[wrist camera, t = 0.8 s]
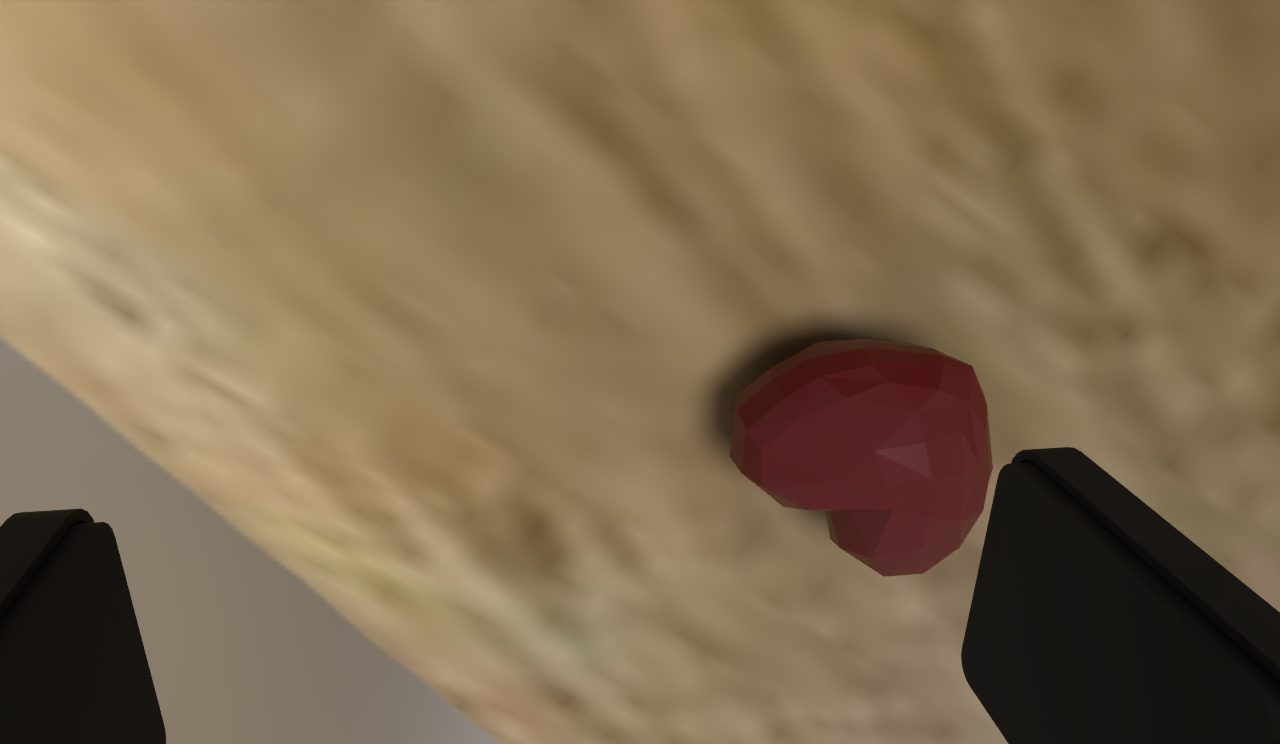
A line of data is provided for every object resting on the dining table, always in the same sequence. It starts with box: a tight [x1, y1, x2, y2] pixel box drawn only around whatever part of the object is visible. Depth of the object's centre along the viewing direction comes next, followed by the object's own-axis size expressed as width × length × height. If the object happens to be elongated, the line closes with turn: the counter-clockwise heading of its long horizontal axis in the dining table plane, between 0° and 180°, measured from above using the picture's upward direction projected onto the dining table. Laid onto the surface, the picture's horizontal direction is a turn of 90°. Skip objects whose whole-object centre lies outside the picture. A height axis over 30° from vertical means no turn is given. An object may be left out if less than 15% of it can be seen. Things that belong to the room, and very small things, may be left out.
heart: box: [730, 338, 993, 576], centre depth 38 cm, size 12×8×10 cm
